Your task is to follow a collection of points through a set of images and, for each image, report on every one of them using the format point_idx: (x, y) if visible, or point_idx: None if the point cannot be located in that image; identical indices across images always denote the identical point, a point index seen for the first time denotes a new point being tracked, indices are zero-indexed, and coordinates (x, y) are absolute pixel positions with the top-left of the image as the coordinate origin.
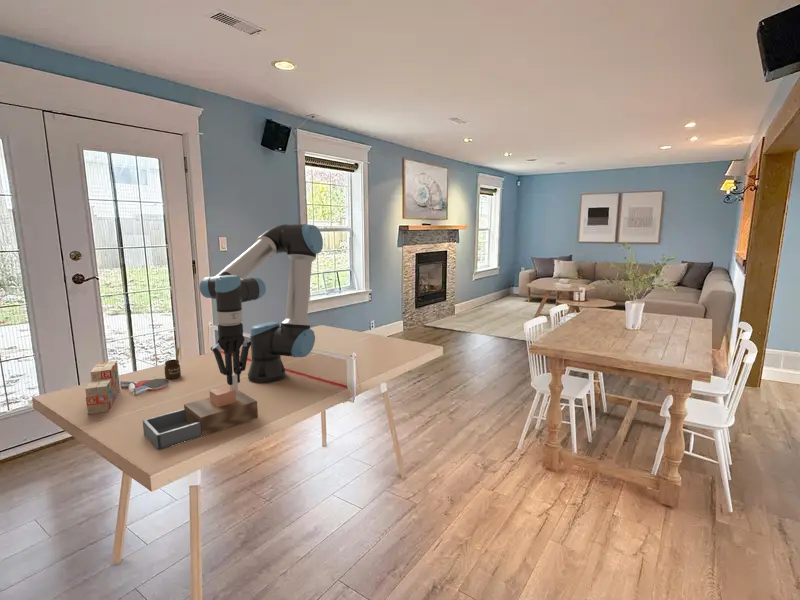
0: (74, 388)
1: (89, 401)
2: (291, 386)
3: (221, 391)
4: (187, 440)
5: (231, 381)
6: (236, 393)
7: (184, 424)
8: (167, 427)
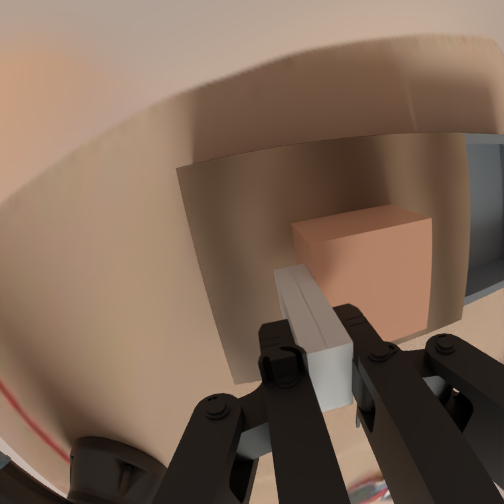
0: None
1: None
2: (50, 386)
3: (392, 275)
4: None
5: (341, 321)
6: (286, 268)
7: None
8: (470, 261)
